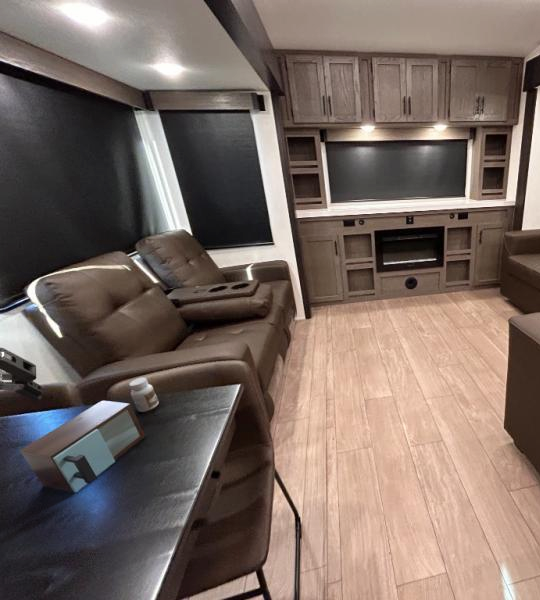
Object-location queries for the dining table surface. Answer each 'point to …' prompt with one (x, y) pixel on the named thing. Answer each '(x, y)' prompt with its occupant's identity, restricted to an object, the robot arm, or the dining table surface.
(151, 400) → the pill bottle
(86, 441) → the glass door
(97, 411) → the cabinet
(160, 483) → the dining table surface
